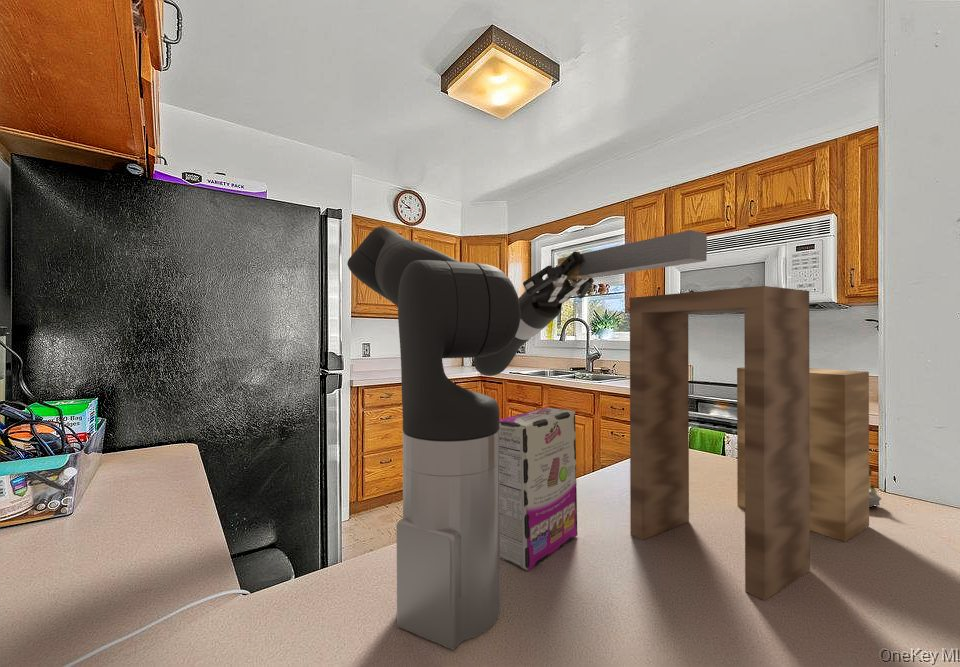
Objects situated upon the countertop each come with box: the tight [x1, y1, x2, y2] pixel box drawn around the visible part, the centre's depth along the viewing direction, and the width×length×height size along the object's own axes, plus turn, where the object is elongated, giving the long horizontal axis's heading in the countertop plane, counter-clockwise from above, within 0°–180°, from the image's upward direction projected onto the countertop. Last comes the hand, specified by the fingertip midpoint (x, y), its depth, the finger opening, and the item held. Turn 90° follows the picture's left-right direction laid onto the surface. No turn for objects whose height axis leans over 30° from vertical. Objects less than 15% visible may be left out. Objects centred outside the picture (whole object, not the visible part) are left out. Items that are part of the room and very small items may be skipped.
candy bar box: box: [499, 407, 579, 571], centre depth 52 cm, size 11×5×16 cm, turn 137°
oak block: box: [736, 366, 870, 543], centre depth 60 cm, size 13×8×21 cm, turn 31°
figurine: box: [869, 469, 882, 507], centre depth 64 cm, size 5×4×6 cm
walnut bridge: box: [629, 285, 811, 601], centre depth 51 cm, size 10×16×31 cm, turn 31°
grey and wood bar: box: [557, 229, 708, 281], centre depth 63 cm, size 24×4×4 cm, turn 31°
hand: (588, 257), depth 68 cm, fingers closed on grey and wood bar, 3 cm apart
